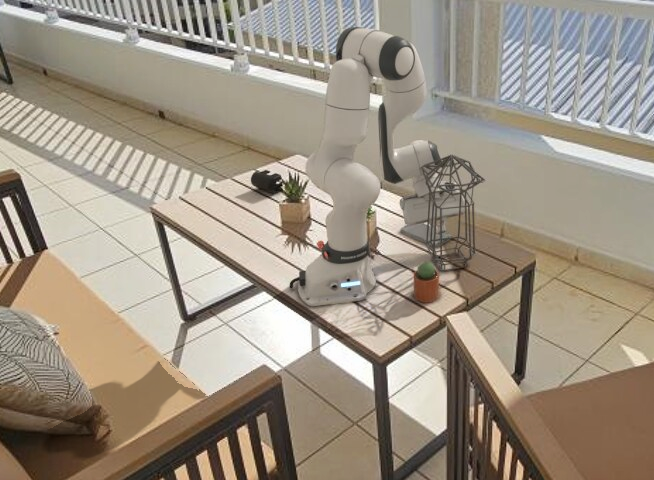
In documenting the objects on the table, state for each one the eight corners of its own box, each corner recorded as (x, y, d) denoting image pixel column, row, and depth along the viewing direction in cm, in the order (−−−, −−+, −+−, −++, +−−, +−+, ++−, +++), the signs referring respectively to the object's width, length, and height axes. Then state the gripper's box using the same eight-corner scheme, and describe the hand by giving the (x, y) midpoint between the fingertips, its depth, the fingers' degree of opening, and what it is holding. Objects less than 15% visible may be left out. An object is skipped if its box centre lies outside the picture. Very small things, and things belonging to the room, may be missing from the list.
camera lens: (252, 190, 235) (249, 174, 232) (266, 183, 240) (263, 167, 236) (270, 196, 230) (267, 180, 227) (284, 190, 235) (281, 173, 231)
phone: (435, 248, 196) (435, 244, 196) (399, 232, 206) (399, 228, 205) (452, 238, 201) (452, 235, 201) (416, 223, 211) (416, 219, 210)
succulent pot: (419, 304, 171) (418, 272, 165) (410, 291, 176) (409, 259, 171) (442, 299, 173) (442, 266, 167) (433, 286, 178) (433, 254, 173)
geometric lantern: (419, 253, 194) (417, 148, 176) (467, 246, 197) (470, 142, 179) (432, 280, 181) (431, 169, 163) (483, 272, 184) (488, 163, 165)
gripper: (400, 194, 187) (412, 236, 185) (461, 182, 193) (474, 223, 191) (395, 201, 193) (407, 242, 191) (455, 189, 199) (467, 229, 197)
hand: (441, 233), depth 191 cm, fingers closed
